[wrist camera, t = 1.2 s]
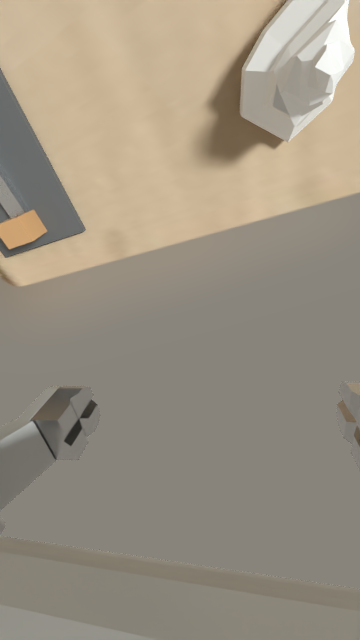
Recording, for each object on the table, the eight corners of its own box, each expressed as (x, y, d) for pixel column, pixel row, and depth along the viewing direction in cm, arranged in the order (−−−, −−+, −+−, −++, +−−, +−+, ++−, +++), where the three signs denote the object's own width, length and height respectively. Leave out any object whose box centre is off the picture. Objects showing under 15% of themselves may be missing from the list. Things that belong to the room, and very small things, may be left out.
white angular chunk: (361, 64, 33) (435, 86, 24) (257, 150, 40) (285, 191, 31) (338, -71, 25) (435, -111, 16) (214, 66, 32) (235, 90, 24)
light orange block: (10, 217, 45) (-8, 226, 40) (33, 209, 43) (16, 217, 39) (25, 238, 47) (9, 249, 43) (47, 231, 46) (32, 241, 42)
